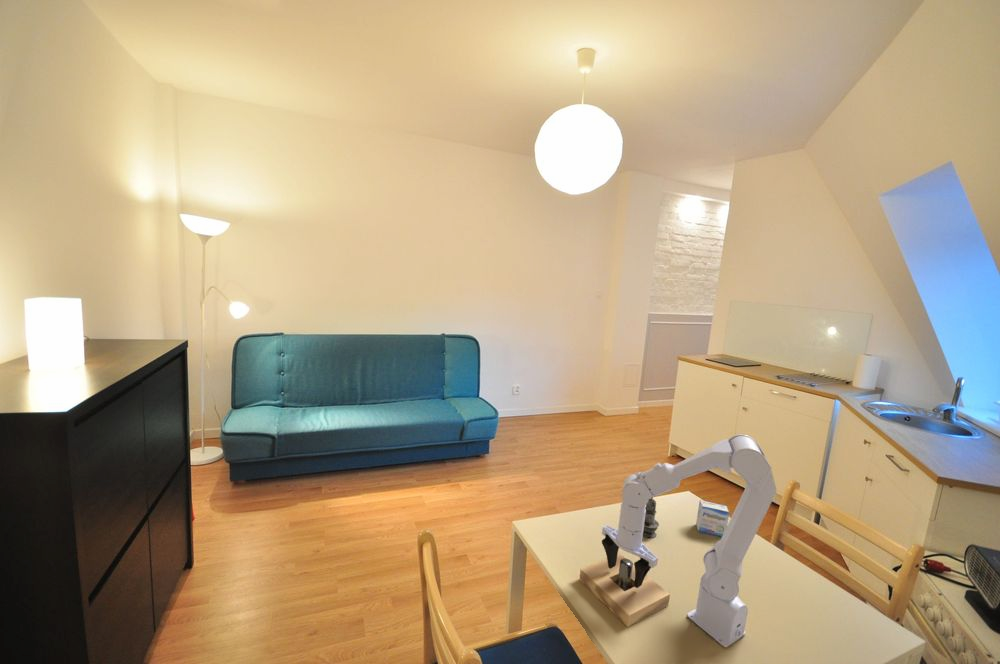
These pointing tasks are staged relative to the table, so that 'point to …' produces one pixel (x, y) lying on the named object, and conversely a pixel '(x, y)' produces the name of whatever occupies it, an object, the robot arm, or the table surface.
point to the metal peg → (625, 574)
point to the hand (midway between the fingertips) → (624, 575)
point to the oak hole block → (624, 592)
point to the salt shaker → (650, 519)
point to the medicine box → (712, 518)
